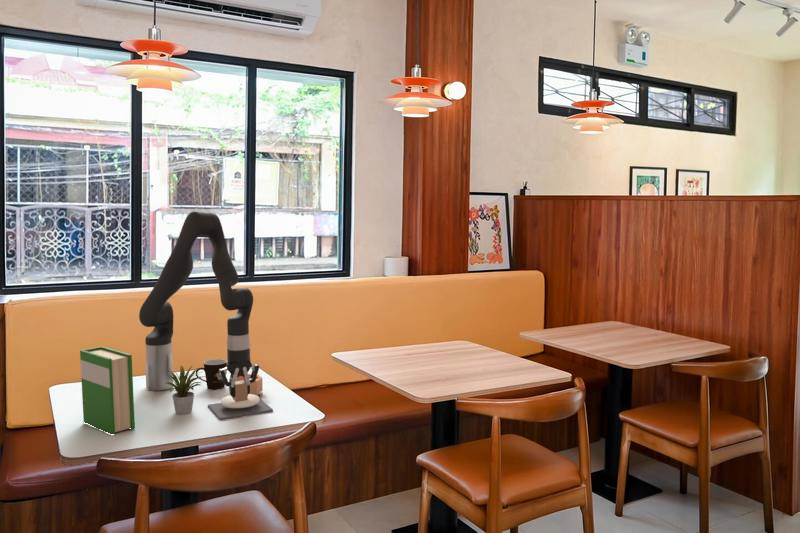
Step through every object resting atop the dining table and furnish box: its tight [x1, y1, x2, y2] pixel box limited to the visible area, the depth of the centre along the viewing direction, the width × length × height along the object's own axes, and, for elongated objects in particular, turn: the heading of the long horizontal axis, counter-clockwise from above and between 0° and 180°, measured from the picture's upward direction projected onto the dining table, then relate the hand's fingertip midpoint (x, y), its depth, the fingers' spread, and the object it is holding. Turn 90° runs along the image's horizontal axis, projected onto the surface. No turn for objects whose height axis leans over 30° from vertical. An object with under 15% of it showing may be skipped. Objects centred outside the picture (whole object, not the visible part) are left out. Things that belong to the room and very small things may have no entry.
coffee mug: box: [195, 358, 228, 391], centre depth 252 cm, size 12×9×10 cm
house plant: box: [165, 365, 206, 416], centre depth 222 cm, size 14×14×16 cm
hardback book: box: [79, 345, 136, 435], centre depth 209 cm, size 18×7×24 cm, turn 52°
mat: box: [207, 398, 274, 421], centre depth 227 cm, size 18×16×1 cm
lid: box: [220, 380, 261, 408], centre depth 227 cm, size 13×13×7 cm
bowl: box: [228, 373, 264, 397], centre depth 244 cm, size 11×11×6 cm
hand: (239, 395), depth 227 cm, fingers closed on lid, 4 cm apart
